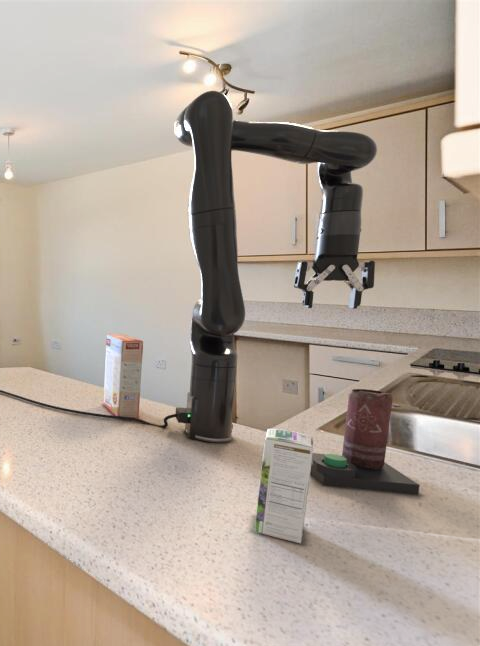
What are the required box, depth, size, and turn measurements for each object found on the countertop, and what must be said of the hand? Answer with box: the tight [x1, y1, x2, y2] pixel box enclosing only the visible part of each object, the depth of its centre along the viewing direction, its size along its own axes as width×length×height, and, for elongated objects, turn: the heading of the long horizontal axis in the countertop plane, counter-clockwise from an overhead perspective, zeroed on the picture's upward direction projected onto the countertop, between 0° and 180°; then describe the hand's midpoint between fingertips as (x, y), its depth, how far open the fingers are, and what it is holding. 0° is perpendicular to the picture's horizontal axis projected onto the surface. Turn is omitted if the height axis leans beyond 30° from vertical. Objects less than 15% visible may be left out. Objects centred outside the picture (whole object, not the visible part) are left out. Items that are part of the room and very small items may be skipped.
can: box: [341, 388, 394, 470], centre depth 87 cm, size 6×6×14 cm
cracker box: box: [102, 333, 144, 419], centre depth 128 cm, size 14×6×21 cm, turn 179°
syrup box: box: [254, 428, 314, 544], centre depth 68 cm, size 6×6×14 cm
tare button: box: [324, 453, 347, 468], centre depth 85 cm, size 3×3×2 cm
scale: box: [310, 452, 420, 496], centre depth 87 cm, size 15×13×4 cm
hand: (330, 308), depth 104 cm, fingers open, 8 cm apart
